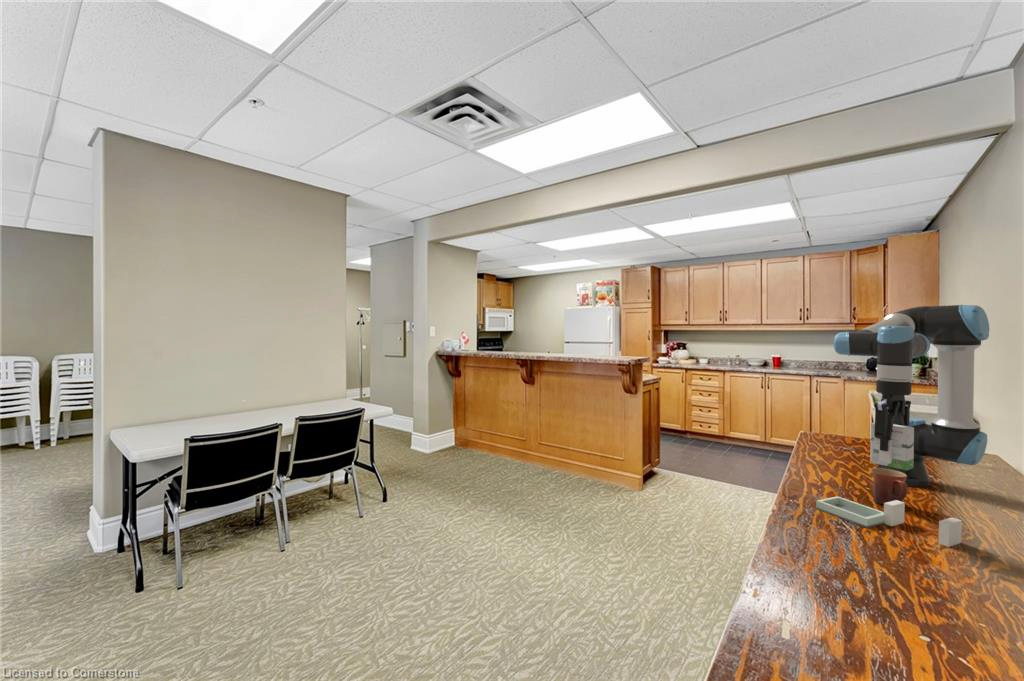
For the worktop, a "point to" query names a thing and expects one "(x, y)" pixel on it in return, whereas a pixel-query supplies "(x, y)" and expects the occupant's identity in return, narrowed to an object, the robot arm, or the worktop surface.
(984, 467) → the worktop surface
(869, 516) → the pale green tray
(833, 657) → the worktop surface
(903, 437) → the ink box
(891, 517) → the white block pair
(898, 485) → the mug
